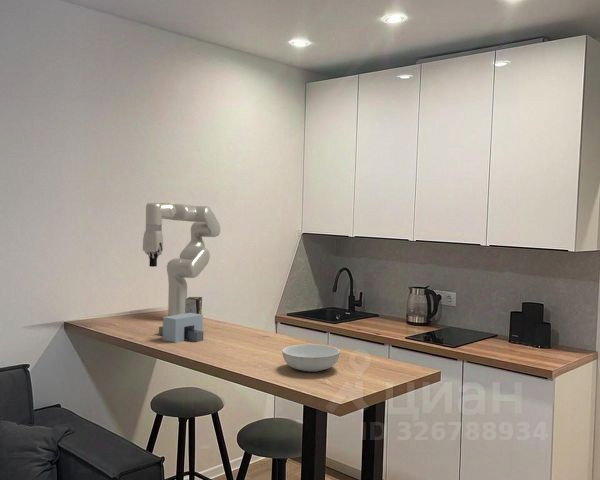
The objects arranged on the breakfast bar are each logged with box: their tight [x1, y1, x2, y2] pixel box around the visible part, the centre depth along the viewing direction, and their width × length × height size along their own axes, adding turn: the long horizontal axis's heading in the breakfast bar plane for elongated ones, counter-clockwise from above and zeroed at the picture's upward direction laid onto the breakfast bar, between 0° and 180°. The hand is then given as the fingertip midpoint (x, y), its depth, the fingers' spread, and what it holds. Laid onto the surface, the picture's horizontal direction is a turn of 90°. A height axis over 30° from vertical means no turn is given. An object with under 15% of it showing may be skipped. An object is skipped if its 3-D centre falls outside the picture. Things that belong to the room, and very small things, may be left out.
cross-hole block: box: [162, 313, 204, 344], centre depth 259 cm, size 8×16×10 cm, turn 144°
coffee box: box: [185, 296, 203, 315], centre depth 273 cm, size 9×6×16 cm
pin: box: [158, 325, 204, 343], centre depth 261 cm, size 24×8×5 cm, turn 56°
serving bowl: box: [281, 343, 341, 373], centre depth 214 cm, size 21×21×7 cm
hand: (153, 266), depth 285 cm, fingers closed
